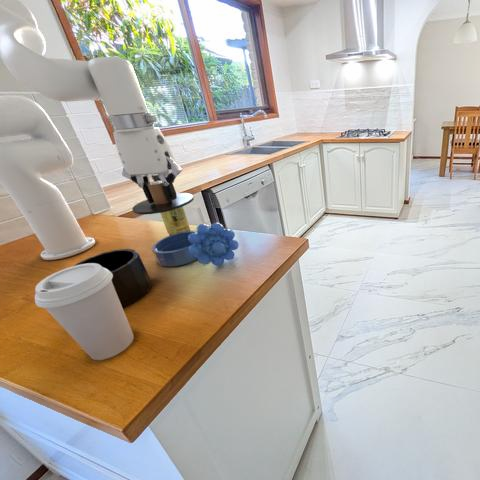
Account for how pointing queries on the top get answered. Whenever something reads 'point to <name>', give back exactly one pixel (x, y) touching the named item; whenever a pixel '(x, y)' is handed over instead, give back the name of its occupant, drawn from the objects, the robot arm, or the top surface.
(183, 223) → the sauce bottle
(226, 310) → the top surface
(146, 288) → the pot
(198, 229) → the blue flower toy
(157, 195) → the lid
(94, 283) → the coffee cup
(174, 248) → the blue round dish
